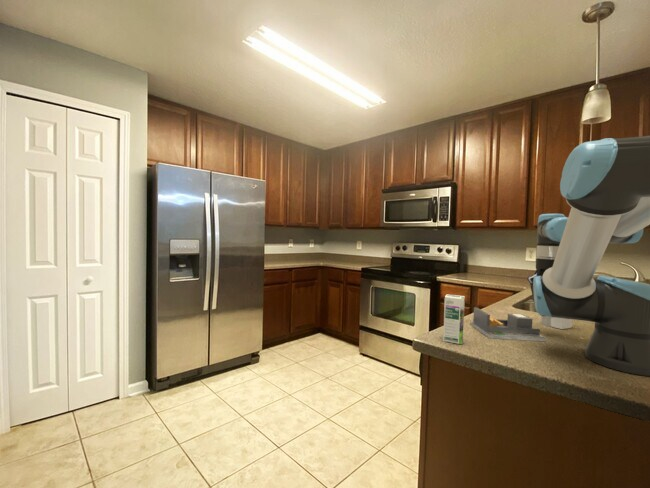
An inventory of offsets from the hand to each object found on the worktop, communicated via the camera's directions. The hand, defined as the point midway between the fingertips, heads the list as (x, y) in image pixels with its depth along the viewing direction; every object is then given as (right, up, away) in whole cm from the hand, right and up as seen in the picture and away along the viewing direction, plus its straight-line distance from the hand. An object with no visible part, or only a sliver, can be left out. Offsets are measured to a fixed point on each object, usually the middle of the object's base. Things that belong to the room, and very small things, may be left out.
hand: (545, 325), depth 102 cm
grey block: (-9, -1, +1) cm, 9 cm away
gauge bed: (-14, -3, +1) cm, 14 cm away
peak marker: (-19, -1, -1) cm, 19 cm away
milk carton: (+12, -4, +11) cm, 17 cm away
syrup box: (-36, -3, -8) cm, 37 cm away
